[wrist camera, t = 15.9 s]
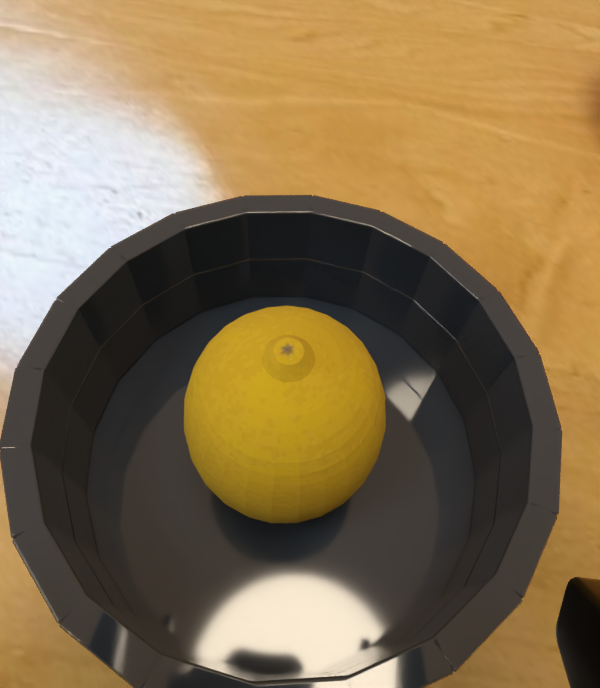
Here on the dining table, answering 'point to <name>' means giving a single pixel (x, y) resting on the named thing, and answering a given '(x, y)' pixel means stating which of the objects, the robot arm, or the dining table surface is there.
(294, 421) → the lemon
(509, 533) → the pot
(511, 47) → the dining table surface
